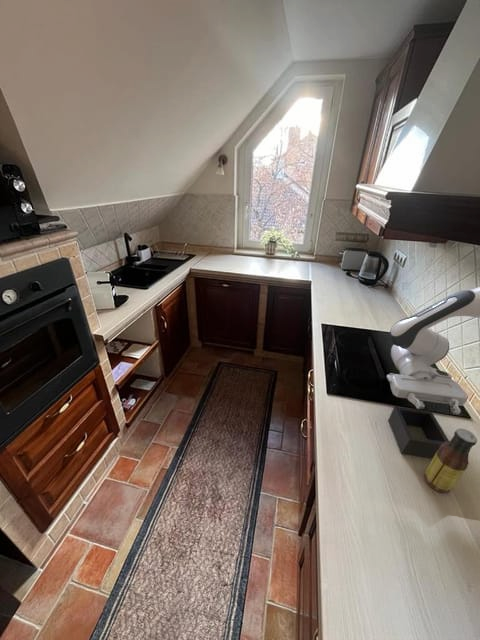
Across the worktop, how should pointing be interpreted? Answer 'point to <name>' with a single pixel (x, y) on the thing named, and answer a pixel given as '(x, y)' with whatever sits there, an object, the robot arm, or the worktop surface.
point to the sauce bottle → (450, 461)
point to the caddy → (412, 444)
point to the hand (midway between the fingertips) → (438, 410)
